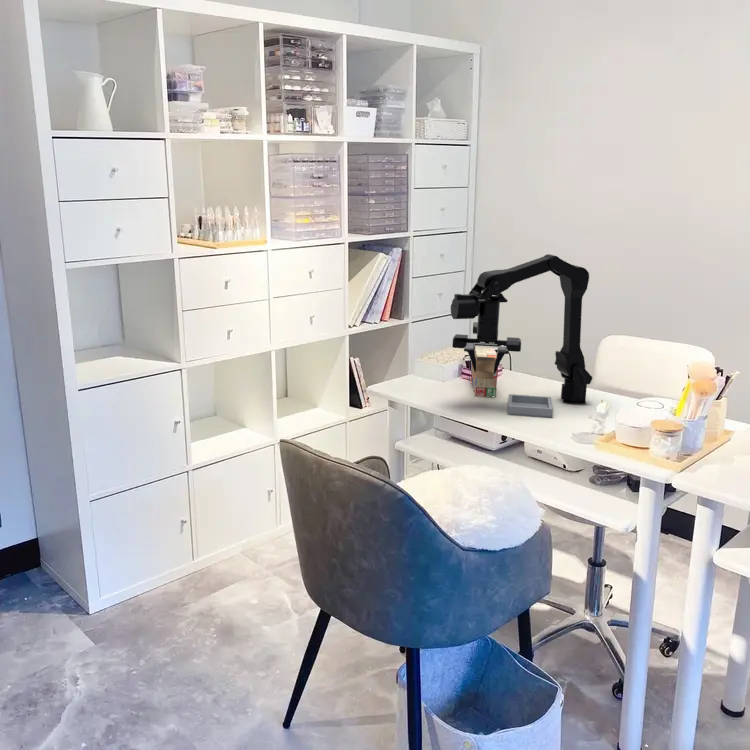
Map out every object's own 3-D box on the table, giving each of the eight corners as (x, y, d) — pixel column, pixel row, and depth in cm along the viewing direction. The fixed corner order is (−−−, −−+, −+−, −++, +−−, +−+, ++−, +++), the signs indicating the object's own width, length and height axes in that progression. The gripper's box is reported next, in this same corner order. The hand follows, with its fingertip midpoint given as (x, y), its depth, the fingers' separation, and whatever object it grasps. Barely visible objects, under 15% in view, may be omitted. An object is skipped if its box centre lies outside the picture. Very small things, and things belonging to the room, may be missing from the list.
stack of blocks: (468, 378, 250) (470, 340, 247) (488, 378, 250) (490, 341, 246) (475, 397, 229) (477, 356, 226) (496, 397, 229) (499, 357, 226)
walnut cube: (493, 374, 219) (495, 357, 218) (493, 379, 215) (494, 361, 213) (476, 373, 220) (477, 356, 219) (475, 378, 215) (476, 360, 214)
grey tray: (550, 405, 222) (551, 396, 222) (552, 418, 211) (552, 409, 210) (508, 402, 224) (508, 394, 224) (507, 414, 213) (508, 406, 212)
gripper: (522, 314, 219) (518, 367, 223) (456, 311, 222) (453, 363, 226) (522, 322, 209) (518, 377, 213) (453, 318, 212) (450, 373, 216)
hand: (484, 372), depth 217 cm, fingers closed on walnut cube, 5 cm apart
